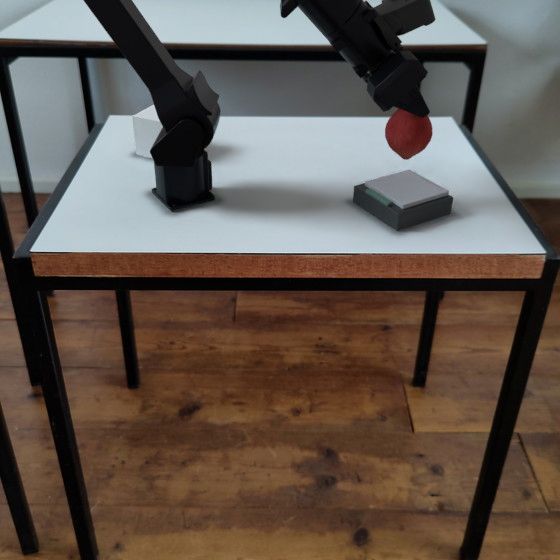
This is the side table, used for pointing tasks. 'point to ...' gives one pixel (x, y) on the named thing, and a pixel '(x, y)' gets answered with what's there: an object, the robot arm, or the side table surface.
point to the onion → (408, 133)
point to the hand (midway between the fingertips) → (422, 109)
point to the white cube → (146, 130)
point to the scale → (403, 199)
